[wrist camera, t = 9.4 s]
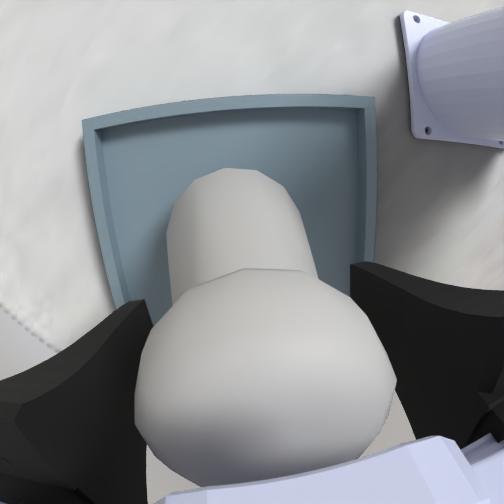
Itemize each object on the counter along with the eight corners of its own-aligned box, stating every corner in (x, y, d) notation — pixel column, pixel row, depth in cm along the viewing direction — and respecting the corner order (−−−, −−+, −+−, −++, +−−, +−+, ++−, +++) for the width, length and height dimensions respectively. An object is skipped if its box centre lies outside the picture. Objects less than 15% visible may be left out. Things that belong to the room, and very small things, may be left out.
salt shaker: (267, 286, 17) (341, 519, 5) (163, 258, 16) (84, 497, 4) (305, 183, 16) (513, 320, 4) (193, 148, 15) (78, 196, 2)
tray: (361, 99, 15) (374, 97, 13) (355, 329, 20) (364, 342, 18) (93, 121, 14) (81, 120, 12) (139, 353, 19) (134, 368, 17)
